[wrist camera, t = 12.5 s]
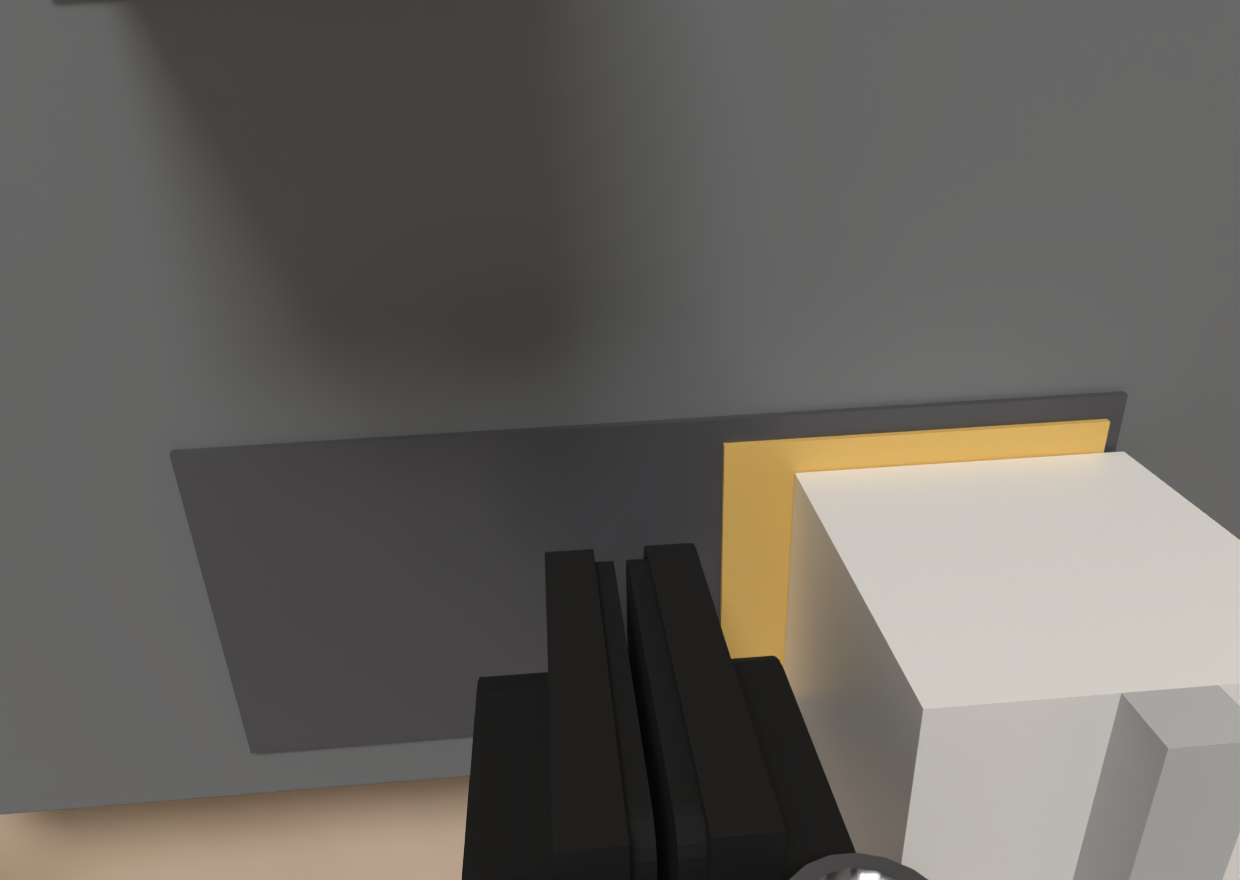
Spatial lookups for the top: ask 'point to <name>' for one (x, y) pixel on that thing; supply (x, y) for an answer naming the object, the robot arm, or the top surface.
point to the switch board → (544, 331)
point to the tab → (1021, 667)
